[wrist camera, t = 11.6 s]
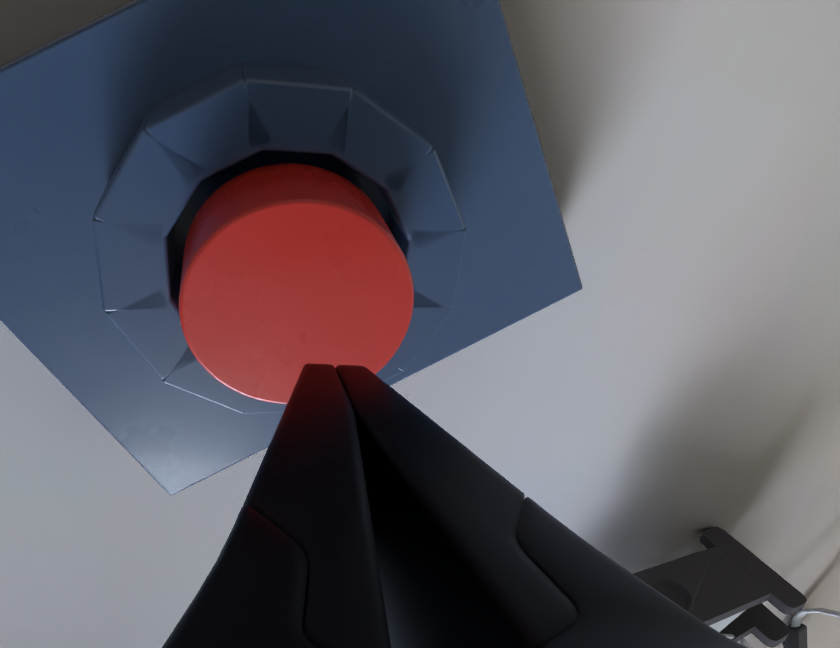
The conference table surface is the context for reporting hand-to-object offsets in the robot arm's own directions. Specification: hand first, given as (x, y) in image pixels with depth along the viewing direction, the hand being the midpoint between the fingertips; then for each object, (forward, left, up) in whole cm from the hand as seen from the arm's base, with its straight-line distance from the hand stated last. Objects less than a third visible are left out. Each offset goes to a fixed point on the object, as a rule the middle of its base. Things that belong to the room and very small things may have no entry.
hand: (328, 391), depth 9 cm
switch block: (0, 0, -8) cm, 8 cm away
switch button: (0, 0, -4) cm, 5 cm away
